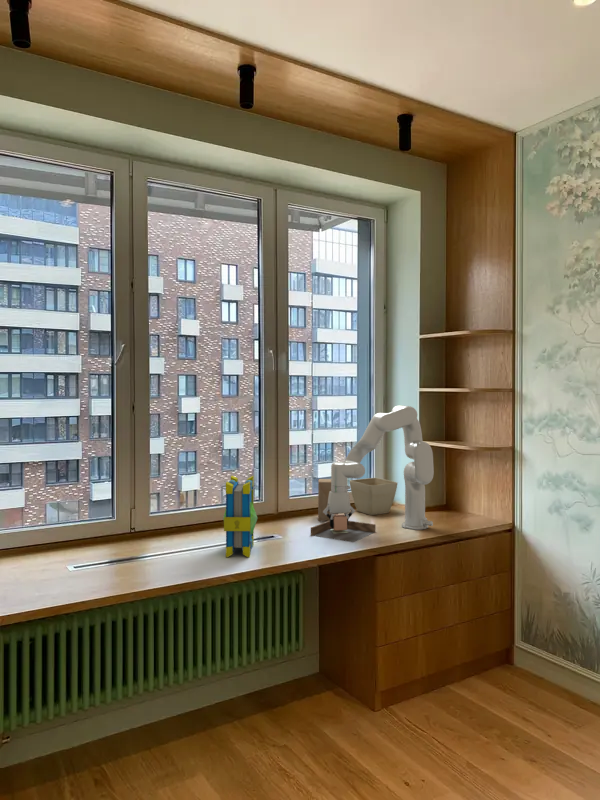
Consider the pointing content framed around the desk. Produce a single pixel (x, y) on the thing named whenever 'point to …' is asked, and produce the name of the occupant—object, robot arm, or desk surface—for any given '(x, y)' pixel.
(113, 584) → the desk surface
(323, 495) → the wooden block
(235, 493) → the decorative book
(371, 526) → the tray
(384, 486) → the flower pot
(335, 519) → the cube
